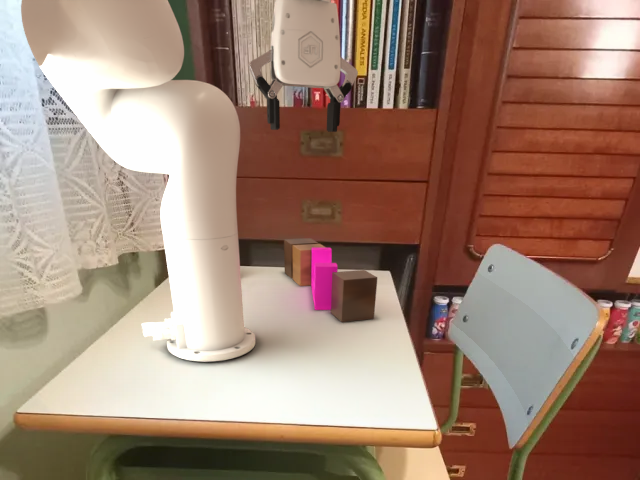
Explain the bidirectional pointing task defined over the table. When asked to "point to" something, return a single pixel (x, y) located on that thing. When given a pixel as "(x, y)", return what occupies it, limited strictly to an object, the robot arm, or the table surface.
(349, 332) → the table surface
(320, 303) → the toy block
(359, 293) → the line block
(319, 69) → the robot arm
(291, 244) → the line block
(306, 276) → the block
